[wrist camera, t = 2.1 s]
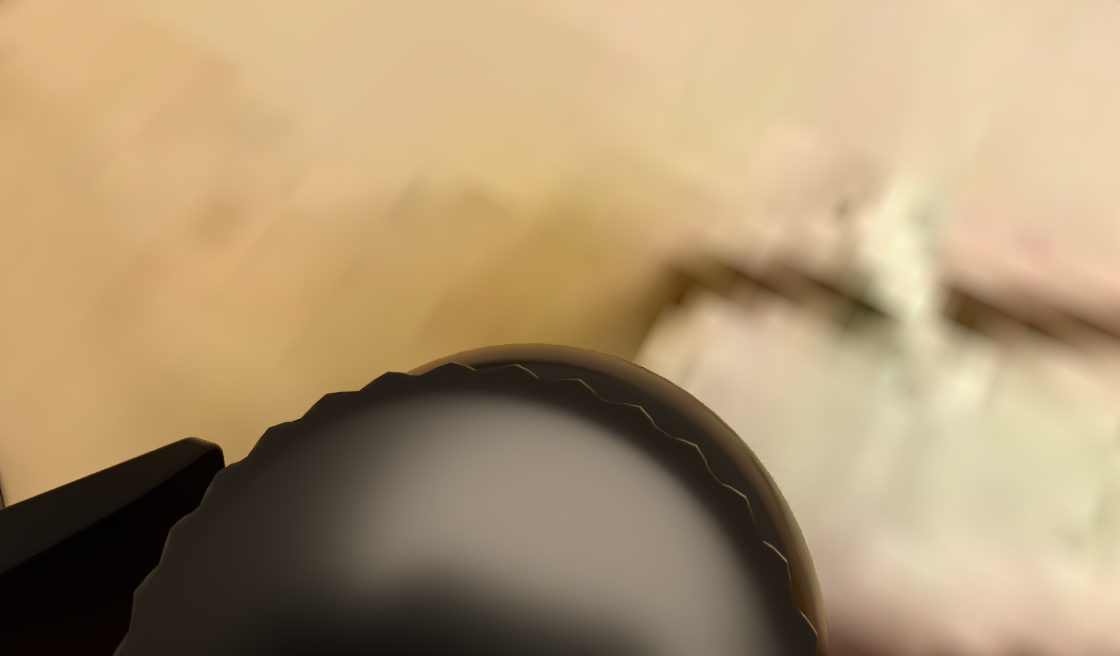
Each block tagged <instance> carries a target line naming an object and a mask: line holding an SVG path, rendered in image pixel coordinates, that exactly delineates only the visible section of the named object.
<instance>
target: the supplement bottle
mask: <svg viewBox="0 0 1120 656" xmlns="http://www.w3.org/2000/svg"><path fill="white" fill-rule="evenodd" d="M112 656H830V653H829V642H828V631H827V622H826V616H825V611H824V605H823V600H822V594H821V590H820V586H819V582H818V579H817V575H816V572H815V568H814V565H813V561H812V558H811V555H810V553H809V550H808V548H807V545H806V542H805V540H804V537H803V534H802V532H801V529H800V527H799V525H798V523H797V521H796V519H795V517H794V515H793V513H792V511H791V509H790V507H789V505H788V503H787V501H786V499H785V498H784V496H783V494H782V493H781V491H780V489H779V488H778V486H777V485H776V483H775V481H774V480H773V478H772V476H771V475H770V474H769V472H768V471H767V470H766V468H765V467H764V466H763V464H762V463H761V462H760V460H759V459H758V457H757V456H756V455H755V453H754V452H753V451H752V450H751V449H750V448H749V447H748V445H747V444H746V443H745V442H744V441H743V440H742V439H741V438H740V436H739V435H738V434H737V433H736V432H735V431H734V430H733V429H732V428H731V427H730V426H729V425H728V424H727V423H725V422H724V421H723V420H722V419H721V418H720V417H719V416H718V415H717V414H716V413H715V412H714V411H712V410H711V409H710V408H708V407H707V406H706V405H704V404H703V403H702V402H701V401H699V400H698V399H697V398H695V397H694V396H693V395H691V394H690V393H688V392H687V391H685V390H683V389H682V388H680V387H679V386H677V385H675V384H674V383H672V382H671V381H669V380H667V379H665V378H663V377H662V376H660V375H658V374H656V373H654V372H652V371H650V370H648V369H646V368H644V367H641V366H639V365H636V364H633V363H631V362H628V361H626V360H623V359H620V358H618V357H614V356H611V355H607V354H603V353H600V352H596V351H593V350H587V349H582V348H576V347H571V346H564V345H552V344H508V345H498V346H489V347H483V348H478V349H474V350H469V351H464V352H460V353H456V354H453V355H450V356H447V357H444V358H440V359H437V360H434V361H432V362H429V363H427V364H425V365H422V366H420V367H417V368H415V369H413V370H410V371H408V372H407V373H401V372H387V373H385V374H383V375H382V376H380V377H378V378H377V379H375V380H373V381H372V382H371V383H369V384H368V385H366V386H365V387H364V388H362V389H361V390H360V391H351V392H336V393H329V394H326V395H325V396H323V397H322V398H321V399H320V400H319V401H318V402H317V403H315V404H314V405H313V406H312V407H311V408H310V409H309V410H308V411H307V412H306V414H305V415H304V416H303V417H302V418H301V419H298V420H295V421H292V422H284V423H281V424H278V425H275V426H272V427H269V428H268V429H267V431H266V432H265V433H264V434H263V436H262V437H261V438H260V439H259V441H258V442H257V443H256V445H255V446H254V448H253V449H252V451H251V452H250V453H249V455H248V456H247V457H246V458H244V459H243V460H241V461H239V462H237V463H233V464H231V465H229V466H227V467H225V468H224V469H222V470H220V471H218V472H217V473H216V474H215V476H214V478H213V480H212V481H211V483H210V485H209V487H208V489H207V491H206V493H205V495H204V497H203V499H202V501H201V503H200V505H199V506H198V507H197V508H196V509H195V510H194V511H192V512H191V513H189V514H188V515H186V516H184V517H183V518H182V519H180V520H179V521H178V522H177V523H176V524H175V525H173V526H172V527H171V529H170V531H169V534H168V537H167V540H166V542H165V545H164V549H163V552H162V556H161V559H160V563H159V564H158V565H157V566H156V567H155V569H154V570H153V571H152V572H151V573H150V574H149V575H148V576H147V577H146V578H145V579H144V580H143V581H142V583H141V584H140V585H139V586H138V587H137V589H136V590H135V591H134V593H133V599H132V604H131V609H130V618H129V627H128V631H127V633H126V635H125V636H124V638H123V640H122V641H121V643H120V644H119V645H118V646H117V647H116V649H115V651H114V653H113V654H112Z"/></svg>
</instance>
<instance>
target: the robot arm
mask: <svg viewBox="0 0 1120 656" xmlns="http://www.w3.org/2000/svg"><path fill="white" fill-rule="evenodd" d="M224 468H225V462H224V455H223V450H222V449H221V447H220V446H219V445H217V444H215V443H212V442H209V441H206V440H203V439H199V438H195V437H189V438H185V439H182V440H179V441H176V442H174V443H171V444H169V445H166V446H163V447H161V448H158V449H156V450H153V451H151V452H148V453H145V454H143V455H140V456H138V457H135V458H132V459H130V460H127V461H125V462H122V463H119V464H117V465H114V466H112V467H109V468H106V469H104V470H101V471H99V472H96V473H93V474H91V475H88V476H86V477H83V478H81V479H78V480H75V481H73V482H70V483H68V484H65V485H62V486H60V487H57V488H55V489H52V490H49V491H47V492H44V493H42V494H39V495H36V496H34V497H31V498H29V499H26V500H24V501H21V502H18V503H16V504H13V505H11V506H8V507H5V508H3V509H0V656H112V654H113V653H114V651H115V649H116V647H117V646H118V645H119V644H120V643H121V641H122V640H123V638H124V636H125V635H126V633H127V631H128V627H129V618H130V609H131V604H132V599H133V593H134V591H135V590H136V589H137V587H138V586H139V585H140V584H141V583H142V581H143V580H144V579H145V578H146V577H147V576H148V575H149V574H150V573H151V572H152V571H153V570H154V569H155V567H156V566H157V565H158V564H159V563H160V559H161V556H162V552H163V549H164V545H165V542H166V540H167V537H168V534H169V531H170V529H171V527H172V526H173V525H175V524H176V523H177V522H178V521H179V520H180V519H182V518H183V517H184V516H186V515H188V514H189V513H191V512H192V511H194V510H195V509H196V508H197V507H198V506H199V505H200V503H201V501H202V499H203V497H204V495H205V493H206V491H207V489H208V487H209V485H210V483H211V481H212V480H213V478H214V476H215V474H216V473H217V472H218V471H220V470H222V469H224Z"/></svg>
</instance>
